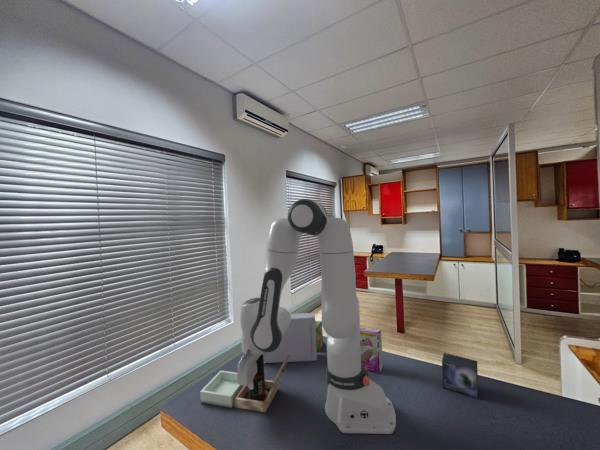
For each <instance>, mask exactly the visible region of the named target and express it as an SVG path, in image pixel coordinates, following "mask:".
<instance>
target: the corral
mask: <svg viewBox="0 0 600 450" xmlns="http://www.w3.org/2000/svg"><path fill="white" fill-rule="evenodd" d="M273 382H274V380H270V379H265V390H270V389H271V387H272V385H273ZM278 385H279V383H278V384H277V386H276V387H275V389H274V391H273V393H272V395H271V397H270V398H269V400H268V402H267V404H266V403H265V402H266V399H267V397H268V394H269V392H268V393H267V395H266V396H265V400H264V401H257V400H251V399H249V398H245V397H246V395H247V393H249V390H248V386H243V388H242V389H241V390H240V392H239V393H238V394H237V396H236V397H235V398H234V402H235V404H234V408H236V409H243V410H249V411H255V412H261V413H267V410H268V408H269V407H270V405H271V403H272V401H273V399H274V398H275V396H276V394H277V392H278V390H279V386H278Z"/></svg>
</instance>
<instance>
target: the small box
mask: <svg viewBox="0 0 600 450" xmlns="http://www.w3.org/2000/svg"><path fill="white" fill-rule="evenodd" d="M441 368H442V370H441V371H442V373H441V374H442V388H443V389H446V390H448V391H451V392H455V393H458V394H461V395H463V396H466V397H469V398H473V399H475V400H478V398H479V382H478V381H479V380H478V379H479V378H478V360H475V359H470V358H467V357H462V356H460V355H459V356H458V355H454V354H450V353H447V352H443V355H442V359H441Z"/></svg>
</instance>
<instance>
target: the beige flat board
mask: <svg viewBox="0 0 600 450" xmlns="http://www.w3.org/2000/svg"><path fill="white" fill-rule="evenodd" d="M288 358H289V355H288V356H287V357H286V359H285V361H284V362H282V364H281V366H280V367H279V369H278V370H277V373H276V376H275V377H274V380H273V381H274V382H273V385H272V387H271V389H269V392H268V393H269V394H268V393H267V395H268V397H267V396H266V397H267V399H266V398H265V399H266V402H265V403H266V404H267V402H268V400H269V398H270V397H271V395H272V393H273V391H274V389H275V387H276V386H277V384H278V385H279V382H280V380H281V377H282V374H283V373H284V372H285V370H286V369H287V366H288V364H289V362H287V360H288Z"/></svg>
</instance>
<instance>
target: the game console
mask: <svg viewBox="0 0 600 450" xmlns="http://www.w3.org/2000/svg"><path fill="white" fill-rule="evenodd" d="M289 314H290V316H291V325H290V327H289V328H288V330H287V332H286V334H285V335H284V337H283V338H282V340H281V342H280V345H279V347H278V348H277V349H276V350H275V351H272V352H270V355H269V357H268V358H267V360H266V361H265V364H273V363H274V364H275V363H283V362H284V361H285V359H286V357H287V356H288V355H289V358H288V360H287V363H289V362H290V363H291V362H293V363H294V362H296V363H297V362H312V361H313V362H316V361H317V360H318V351H317V350H316V330H315V321H316V316H315V312H305V313H304V312H302V313H301V312H300V313H289Z"/></svg>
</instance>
